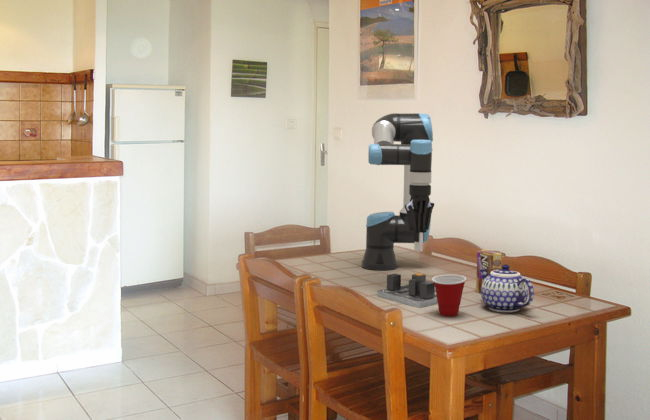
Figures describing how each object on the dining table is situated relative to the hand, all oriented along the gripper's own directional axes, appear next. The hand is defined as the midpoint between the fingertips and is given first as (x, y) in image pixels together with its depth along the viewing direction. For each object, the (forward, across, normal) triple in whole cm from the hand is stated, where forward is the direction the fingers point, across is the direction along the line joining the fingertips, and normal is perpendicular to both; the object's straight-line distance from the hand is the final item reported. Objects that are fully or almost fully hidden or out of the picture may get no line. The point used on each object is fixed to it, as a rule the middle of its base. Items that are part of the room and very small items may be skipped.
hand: (418, 250), depth 246 cm
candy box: (+16, -21, +14) cm, 30 cm away
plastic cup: (+16, +12, +24) cm, 31 cm away
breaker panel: (+16, +3, +3) cm, 16 cm away
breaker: (+14, 0, 0) cm, 14 cm away
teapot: (+16, -8, +31) cm, 36 cm away
